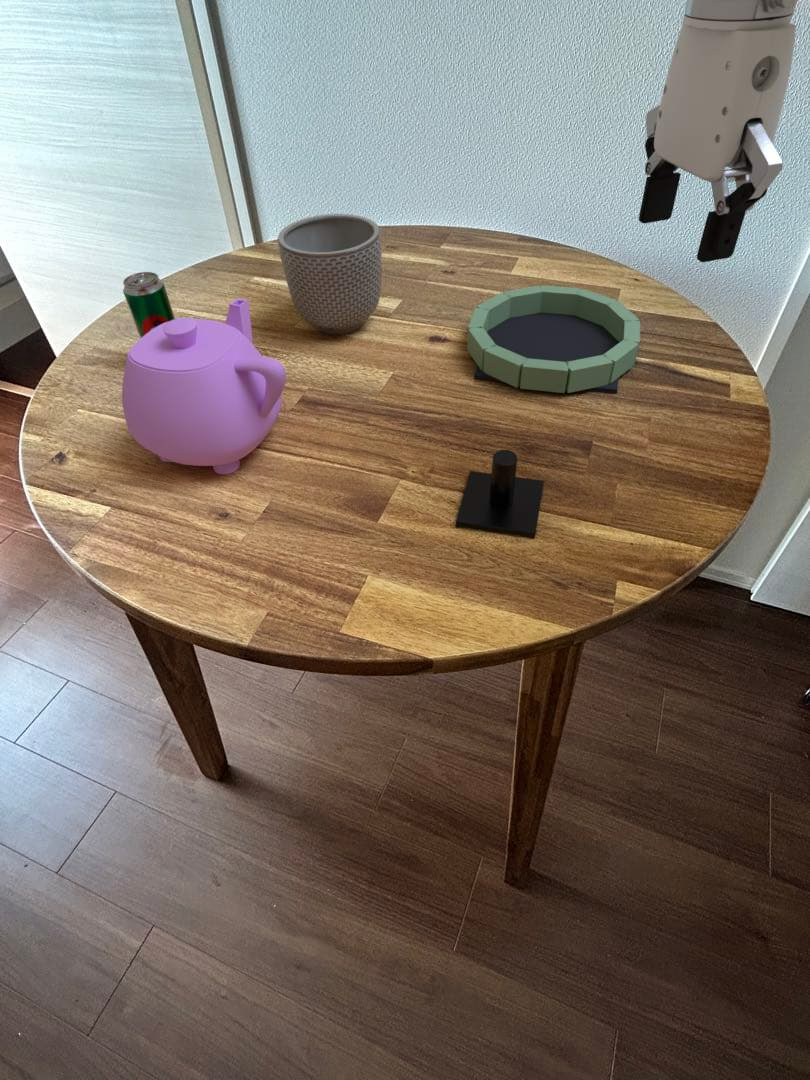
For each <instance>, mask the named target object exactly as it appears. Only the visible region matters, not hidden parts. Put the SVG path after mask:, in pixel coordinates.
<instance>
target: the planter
mask: <svg viewBox="0 0 810 1080" xmlns="http://www.w3.org/2000/svg"><path fill="white" fill-rule="evenodd" d="M382 246H383V245H382V233H381V229H380V227H379V225H378V224H377V223H376V221H373V220H372V219H370V218H367V217H364V216H361V215H355V214H349V213H329V214H319V215H314V216H309V217H305V218H302V219H299V220H296V221H294V222H292V223H290V224H288V225H287V226H285V227H284V228H283V229H282V230H281V231H280V232H279V233H278V236H277V248H278V253H279V256H280V261H281V265H282V269H283V271H284V272H283V273H284V277H285V280H286V283H287V287H288V291H289V295H290V297H291V300H292V303H293V306H294V307H295V310H296V311H297V313H298V315H299V316H300V317H301V318H302V319H303V320H305V321H306V322H308V323H309V324H310V325H313V326H315V327H316V328H317V329H318V330H319V331H320V332H322V333H324V334H328V335H345V334H350V333H353V332H354V331H357V330H358V329H360V328H361V327H362V326H363V324H364V322H366V320H367V319H369V318H370V317H371V316H372V315H373V314H374V312H375V311H376V309H377V308H378V306H379V304H380V303H379V302H380V298H381V293H382V291H381V290H382V273H383V268H382V265H383V263H382V260H383V259H382V251H383V250H382Z"/></svg>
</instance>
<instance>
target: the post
mask: <svg viewBox="0 0 810 1080" xmlns="http://www.w3.org/2000/svg"><path fill="white" fill-rule="evenodd" d="M517 467H518V455H517V454H516V453H515V452H514V451H512V450H509V449H501V450H497V451H495V452H494V453H493V455H492V462H491V473H490V472H483V471H482V472H481V471H475V470H470V471H469V474H468V477H467V480H466V484H465V488H464V491H463V495H462V498H461V501H460V505H459V509H458V511H457V516H456V519H455V527H456V528H463V529H469V530H475V531H482V532H489V533H494V534H503V535H509V536H515V537H521V538H529V539H536V535H537V528H538V522H539V518H540V517H539V516H540V510H541V505H542V497H543V491H544V485H545V480H543V479H536V478H528V477H520V476H517Z"/></svg>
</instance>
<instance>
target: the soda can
mask: <svg viewBox="0 0 810 1080" xmlns="http://www.w3.org/2000/svg"><path fill="white" fill-rule="evenodd" d="M122 284H123V289H122V293H123V295H124V298H125V301H126V303H127V306H128V309H129V311H130V314H131V317H132V319H133V322H134V325H135V328H136V331H137V334H138V336H139V340H140V339H141V338H142V337H143V336H144V335H146V334H147V333H148V332H149V331H151V330H152V329H154V328H155V327H157V326H159V325H161V324H163V323H166V322H169V321H171V320H174V319H176V317H175V315H174V312H173V307H172V305H171V302H170V299H169V296H168V292H167V290H166V287H165V283H164V281H162V280H161V278H159V274H157V273H156V272H152V271H140V272H136V273H133V274H130V275H128V276H127V277H125V278H124V279H123V282H122Z"/></svg>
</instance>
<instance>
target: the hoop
mask: <svg viewBox="0 0 810 1080" xmlns="http://www.w3.org/2000/svg"><path fill="white" fill-rule="evenodd" d="M535 313H549V314H561V315H574V316H577V317H580V318H583V319H585V320H588V321H591V322H593V323H596V324H599V325H602V326H603V327H604V328H605V329H606V330H607V331H608V332H609V333H610V334H611V335H612V336H613V337H614V338H616V339H617V340H618V341H619V342H620V343H618V344H617V345H616V346H614V347H613V348H612V349H610V350H609V351H607V352H606V353H605V354H603V355H599V356H594V357H589V358H584V359H579V360H574V361H569V362H561V361H551V360H540V359H529V358H525V357H523V356H521V355H518V354H516V353H514V352H511V351H509V350H507V349H504V348H502V347H500V346H497V345H496V344H495V343H494V342H493V340H492V339H491V338H490V336H489V335H488V331H489V330H490V329H492V328H494V327H495V326H497V325H498V324H500V323H502V322H503V321H505V320H507V319H508V318H513V317H519V316H524V315H530V314H535ZM640 343H641V321H640V319H639V318H638V317H637V315H635V314H634V313H633V312H632V311H631V310H629V308H627V307H626V306H625V305H624V304H623V303H622V302H621V301H619V300H617V299H615V298H612V297H609V296H606V295H604V294H601V293H597V292H594V291H591V290H588V289H585V288H582V289H581V287H571V286H557V285H542V284H541V285H539V284H538V285H533V286H528V287H522V288H517V289H511V290H504V291H502V292H499V293H497V294H495V295H494V296H492V297H490V298H489V299H487V300H485V301H483V302H481V303H480V304H478V305H477V306H476V307H474V310H473V311H472V316H471V318H470V320H469V324H468V326H467V341H466V349H467V352H468V353H469V355H470V356H471V358H472V360H473V361H474V362H475V363H476V366H477V365H478V366H479V368H480V369H481V371H483V373H486V374H488V375H490V376H492V377H494V378H497V379H499V380H501V381H503V382H502V383H506V384H507V385H510V386H512V387H514V388H516V389H518V388H520V390H521V389H522V390H528V391H529V390H531V391H540V392H548V393H558V394H560V393H561V394H565V392H566V393H567V394H570V393H575V392H580V391H586V390H585V389H590V388H595V387H600V386H605V385H608V383H610V384H611V383H612V382H613V381H615V380H616V379H617V378H618V379H619V378H620V377H621V376H622V375H624V374H625V373H626V372H628V371H629V370H630V369H631V368H633V367H634V365H635V364H636V360H637V356H638V352H639V348H640Z"/></svg>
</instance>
